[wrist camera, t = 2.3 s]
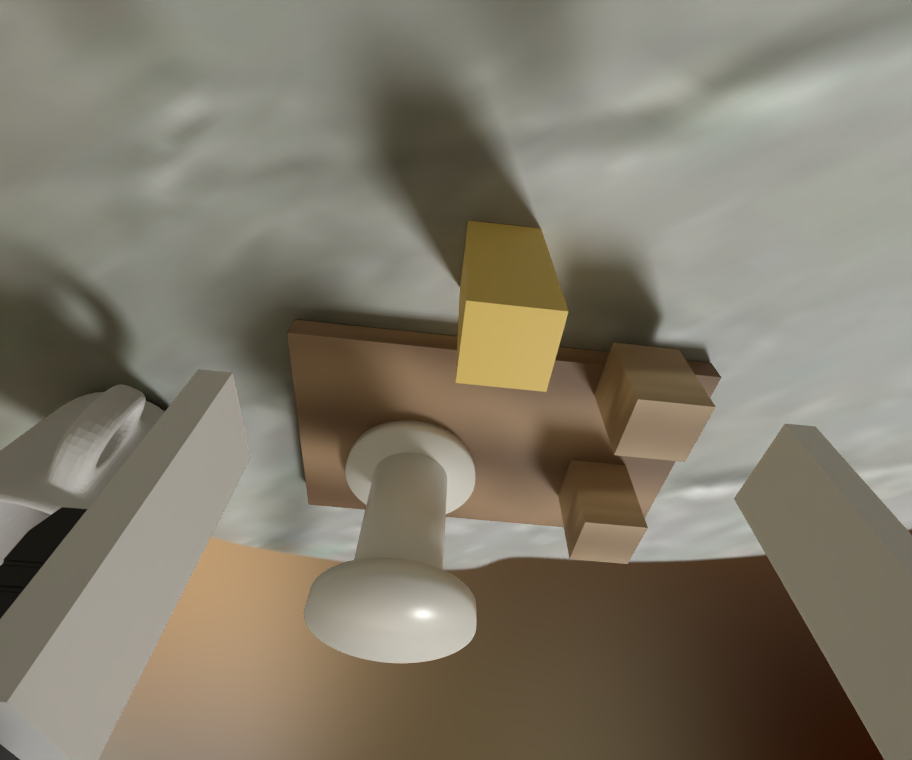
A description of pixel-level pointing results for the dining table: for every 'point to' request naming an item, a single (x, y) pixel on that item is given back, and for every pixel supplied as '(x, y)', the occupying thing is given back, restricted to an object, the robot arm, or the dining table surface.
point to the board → (509, 426)
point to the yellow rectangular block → (508, 308)
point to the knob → (399, 550)
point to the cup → (69, 458)
